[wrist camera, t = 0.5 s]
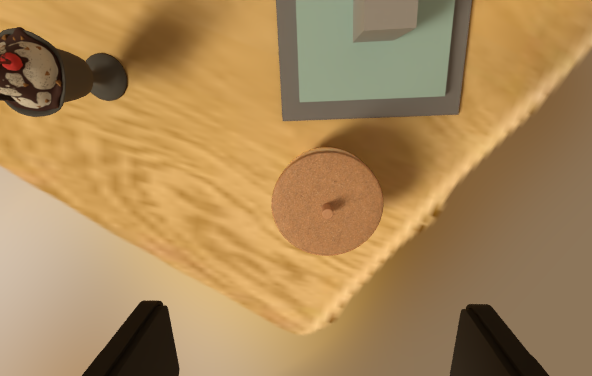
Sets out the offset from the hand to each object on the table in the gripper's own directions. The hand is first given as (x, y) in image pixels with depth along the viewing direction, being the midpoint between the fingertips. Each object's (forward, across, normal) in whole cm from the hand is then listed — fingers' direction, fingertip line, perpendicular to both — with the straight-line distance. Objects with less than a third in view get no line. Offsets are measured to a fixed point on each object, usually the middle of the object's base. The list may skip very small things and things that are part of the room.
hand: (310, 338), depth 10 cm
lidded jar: (+28, -1, +4) cm, 28 cm away
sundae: (+28, +23, -9) cm, 37 cm away
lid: (+27, -6, -14) cm, 31 cm away
